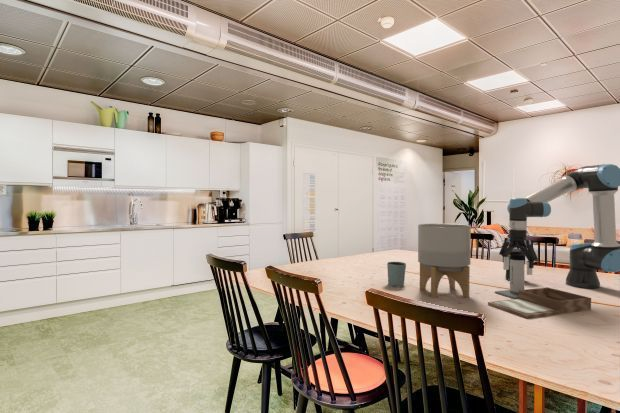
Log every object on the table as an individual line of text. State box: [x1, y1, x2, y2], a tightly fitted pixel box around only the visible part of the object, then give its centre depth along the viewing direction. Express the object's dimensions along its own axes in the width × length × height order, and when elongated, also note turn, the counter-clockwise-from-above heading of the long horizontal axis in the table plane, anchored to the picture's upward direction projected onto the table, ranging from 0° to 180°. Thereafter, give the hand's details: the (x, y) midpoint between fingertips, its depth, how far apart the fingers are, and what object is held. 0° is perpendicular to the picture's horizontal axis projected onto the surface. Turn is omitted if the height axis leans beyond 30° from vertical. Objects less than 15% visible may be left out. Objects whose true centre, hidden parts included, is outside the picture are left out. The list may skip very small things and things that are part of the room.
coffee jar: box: [504, 248, 525, 281], centre depth 214 cm, size 10×8×19 cm
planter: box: [417, 223, 472, 299], centre depth 186 cm, size 25×25×34 cm
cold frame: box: [487, 286, 592, 320], centre depth 161 cm, size 36×20×5 cm, turn 109°
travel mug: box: [509, 252, 526, 294], centre depth 182 cm, size 6×7×20 cm
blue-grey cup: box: [386, 261, 407, 287], centre depth 203 cm, size 10×10×12 cm
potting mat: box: [494, 289, 519, 299], centre depth 182 cm, size 16×12×1 cm
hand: (517, 272), depth 182 cm, fingers open, 13 cm apart
